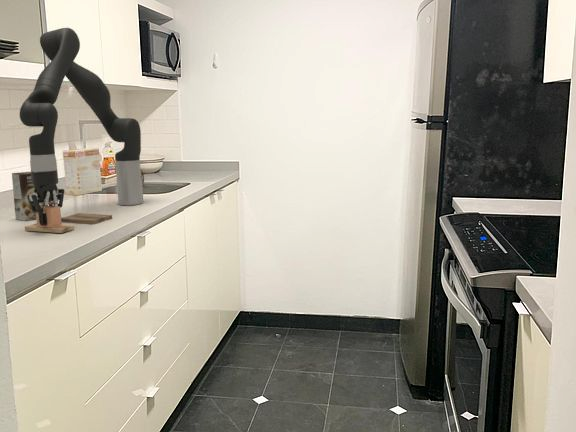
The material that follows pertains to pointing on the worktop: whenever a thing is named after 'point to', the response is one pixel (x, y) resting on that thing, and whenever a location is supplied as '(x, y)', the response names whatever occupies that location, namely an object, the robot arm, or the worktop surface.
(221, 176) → the worktop surface
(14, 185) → the coffee box
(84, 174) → the coffeecake box
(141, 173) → the tin
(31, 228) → the stub
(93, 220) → the brown notebook
